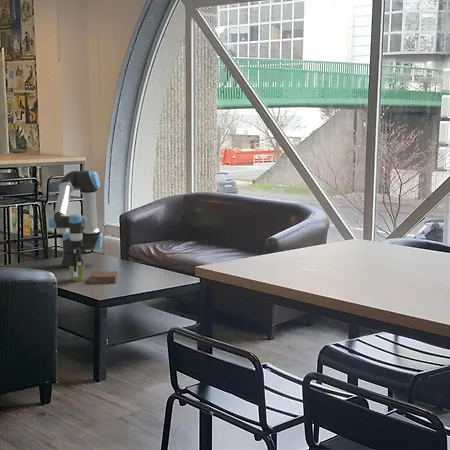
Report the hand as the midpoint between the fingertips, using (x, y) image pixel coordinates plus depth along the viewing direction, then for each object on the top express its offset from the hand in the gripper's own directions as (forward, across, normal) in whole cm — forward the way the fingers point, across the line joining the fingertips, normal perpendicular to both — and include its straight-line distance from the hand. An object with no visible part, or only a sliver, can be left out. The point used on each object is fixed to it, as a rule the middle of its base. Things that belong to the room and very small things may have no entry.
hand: (77, 274), depth 428 cm
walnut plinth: (+4, +2, +16) cm, 17 cm away
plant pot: (+4, 0, 0) cm, 4 cm away
